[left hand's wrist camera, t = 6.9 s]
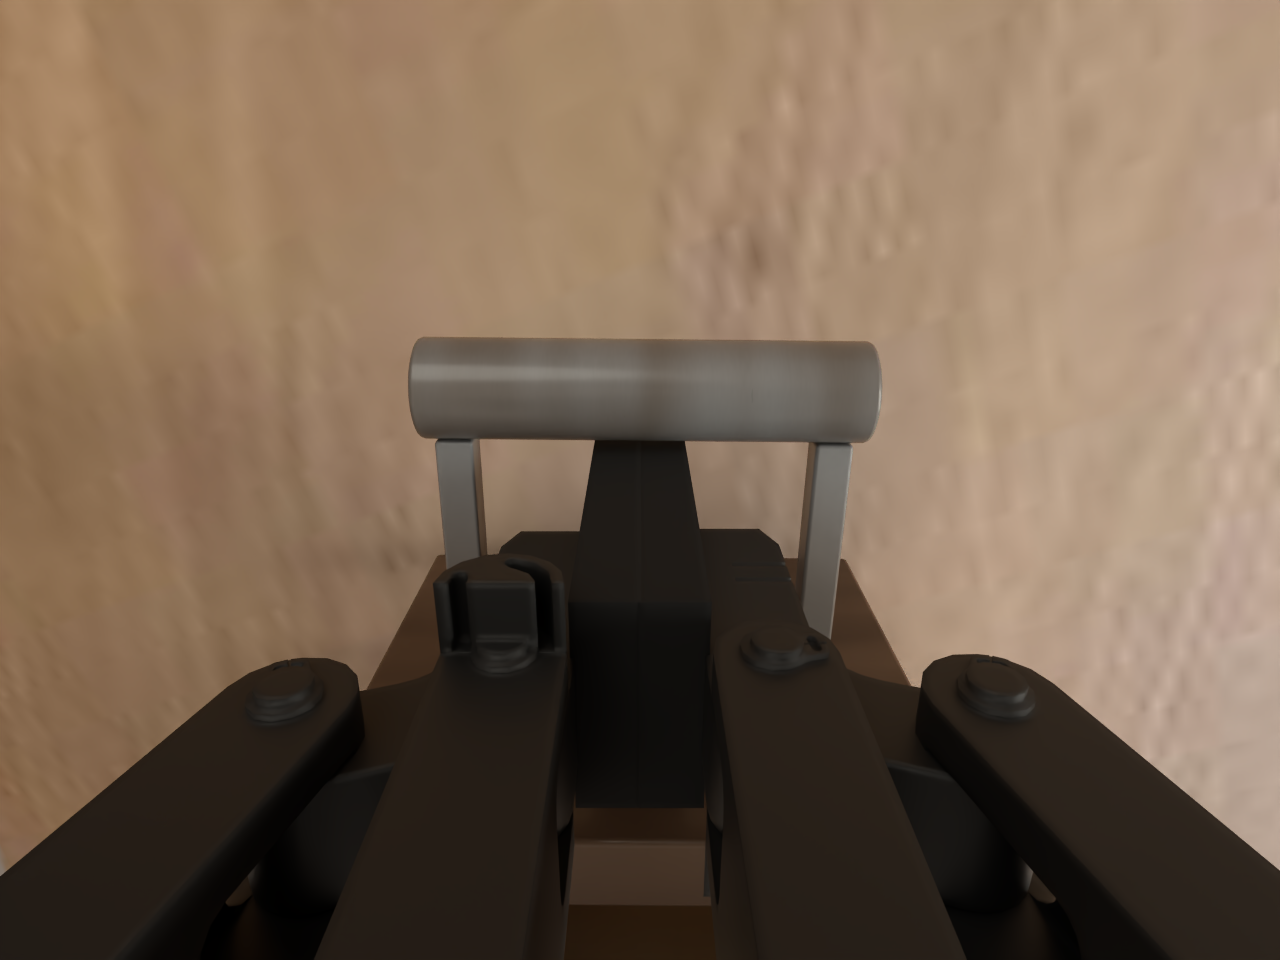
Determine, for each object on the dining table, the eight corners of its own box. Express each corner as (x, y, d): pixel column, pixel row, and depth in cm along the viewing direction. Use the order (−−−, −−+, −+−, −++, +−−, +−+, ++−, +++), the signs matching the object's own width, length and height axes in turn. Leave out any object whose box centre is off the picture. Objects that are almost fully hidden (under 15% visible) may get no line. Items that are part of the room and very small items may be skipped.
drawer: (412, 296, 16) (196, 415, 8) (876, 301, 16) (1096, 424, 8) (479, 997, 23) (400, 1399, 16) (793, 1000, 23) (866, 1403, 16)
